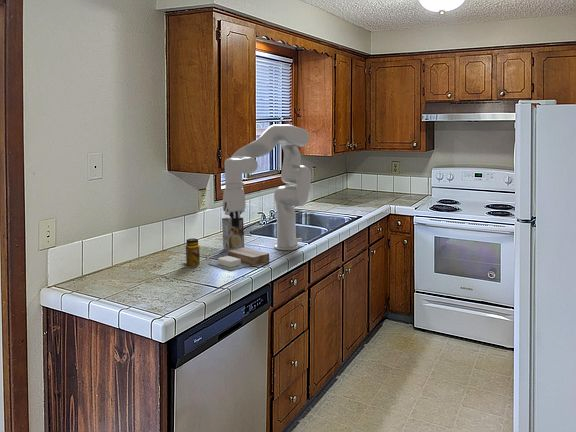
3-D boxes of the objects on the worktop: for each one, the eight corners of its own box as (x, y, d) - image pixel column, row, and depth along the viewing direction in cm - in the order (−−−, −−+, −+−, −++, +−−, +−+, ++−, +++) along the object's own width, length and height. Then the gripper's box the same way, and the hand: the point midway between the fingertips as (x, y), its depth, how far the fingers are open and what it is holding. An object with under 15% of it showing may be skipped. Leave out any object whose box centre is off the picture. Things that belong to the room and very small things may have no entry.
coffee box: (238, 246, 284) (237, 216, 281) (244, 248, 279) (243, 217, 276) (222, 249, 278) (221, 218, 275) (229, 251, 273) (228, 219, 270)
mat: (228, 259, 257) (228, 258, 257) (250, 265, 246) (250, 264, 246) (208, 264, 249) (208, 263, 249) (230, 271, 238) (230, 270, 238)
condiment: (201, 266, 246) (200, 240, 244) (182, 268, 244) (181, 241, 242) (200, 262, 253) (199, 237, 251) (181, 263, 251) (180, 238, 249)
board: (244, 255, 265) (243, 247, 264) (269, 261, 253) (269, 253, 252) (227, 259, 258) (227, 250, 258) (253, 266, 246) (252, 257, 245)
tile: (217, 258, 248) (218, 263, 249) (230, 261, 242) (230, 267, 242) (228, 255, 252) (228, 261, 253) (240, 259, 246) (240, 264, 247)
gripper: (241, 183, 252) (242, 222, 256) (215, 187, 242) (217, 227, 245) (252, 185, 247) (253, 224, 250) (226, 188, 236) (227, 230, 240)
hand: (235, 226), depth 248 cm, fingers closed
